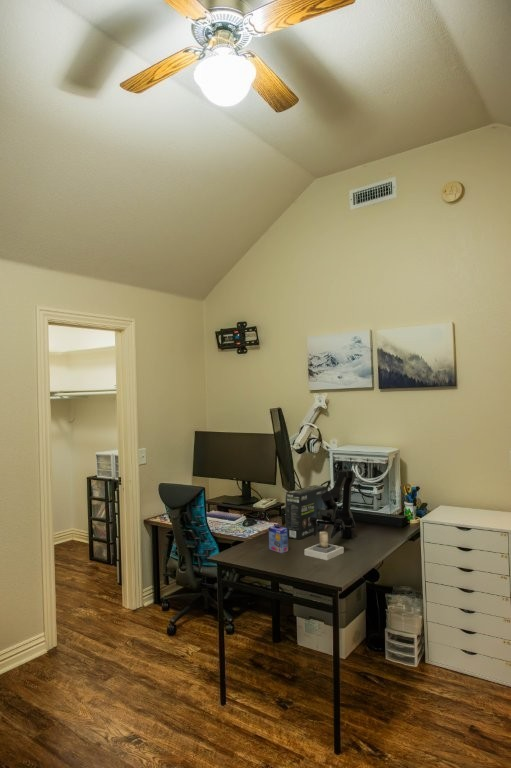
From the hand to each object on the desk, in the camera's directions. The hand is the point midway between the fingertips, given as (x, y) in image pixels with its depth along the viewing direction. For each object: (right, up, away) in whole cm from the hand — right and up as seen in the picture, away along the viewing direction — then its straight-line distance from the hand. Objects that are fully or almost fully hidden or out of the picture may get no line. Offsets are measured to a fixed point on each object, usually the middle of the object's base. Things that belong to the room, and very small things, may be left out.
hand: (323, 537), depth 251 cm
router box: (-3, -12, +45) cm, 47 cm away
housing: (+1, -9, +1) cm, 9 cm away
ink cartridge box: (-23, -10, +8) cm, 27 cm away
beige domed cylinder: (+1, -8, +1) cm, 8 cm away
